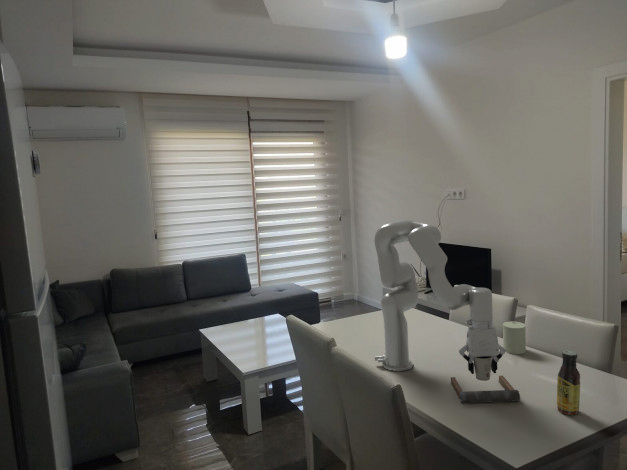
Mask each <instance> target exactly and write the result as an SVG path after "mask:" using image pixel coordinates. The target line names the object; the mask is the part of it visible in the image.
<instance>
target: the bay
mask: <svg viewBox="0 0 627 470" xmlns="http://www.w3.org/2000/svg"><path fill="white" fill-rule="evenodd" d="M498 383H499V384H500V386H501V387H502V388H503V389H501V390H500V389H498V390H496V389H495V390H469V391H468V390H464V391H463V389H462V386H460V383H459V381H458V380H457V379H456V377H454V376H452V377H450V385H451V386H452V388H453V391H454V392H455V394H456V396H457V397H458V399H459V400H460V403H461V404H462V403H463V404H464V403H466V404H468V403H497V402H499V403H503V402H506V403H507V402H520V401H521V394H520V391H519V390H518V389H515V387H513V385H511V383H509V381H508V380H507V378H506V377H505V376H504V375H498Z"/></svg>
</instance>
